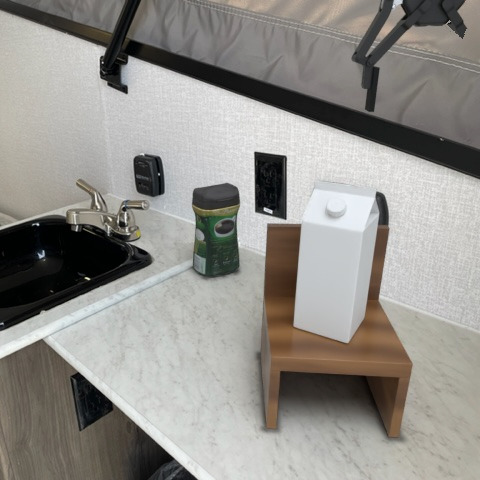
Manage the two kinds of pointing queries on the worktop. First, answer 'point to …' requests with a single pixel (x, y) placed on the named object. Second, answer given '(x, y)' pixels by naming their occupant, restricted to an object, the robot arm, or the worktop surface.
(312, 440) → the worktop surface
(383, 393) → the wooden toy chair
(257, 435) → the worktop surface
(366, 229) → the milk carton
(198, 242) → the coffee jar
